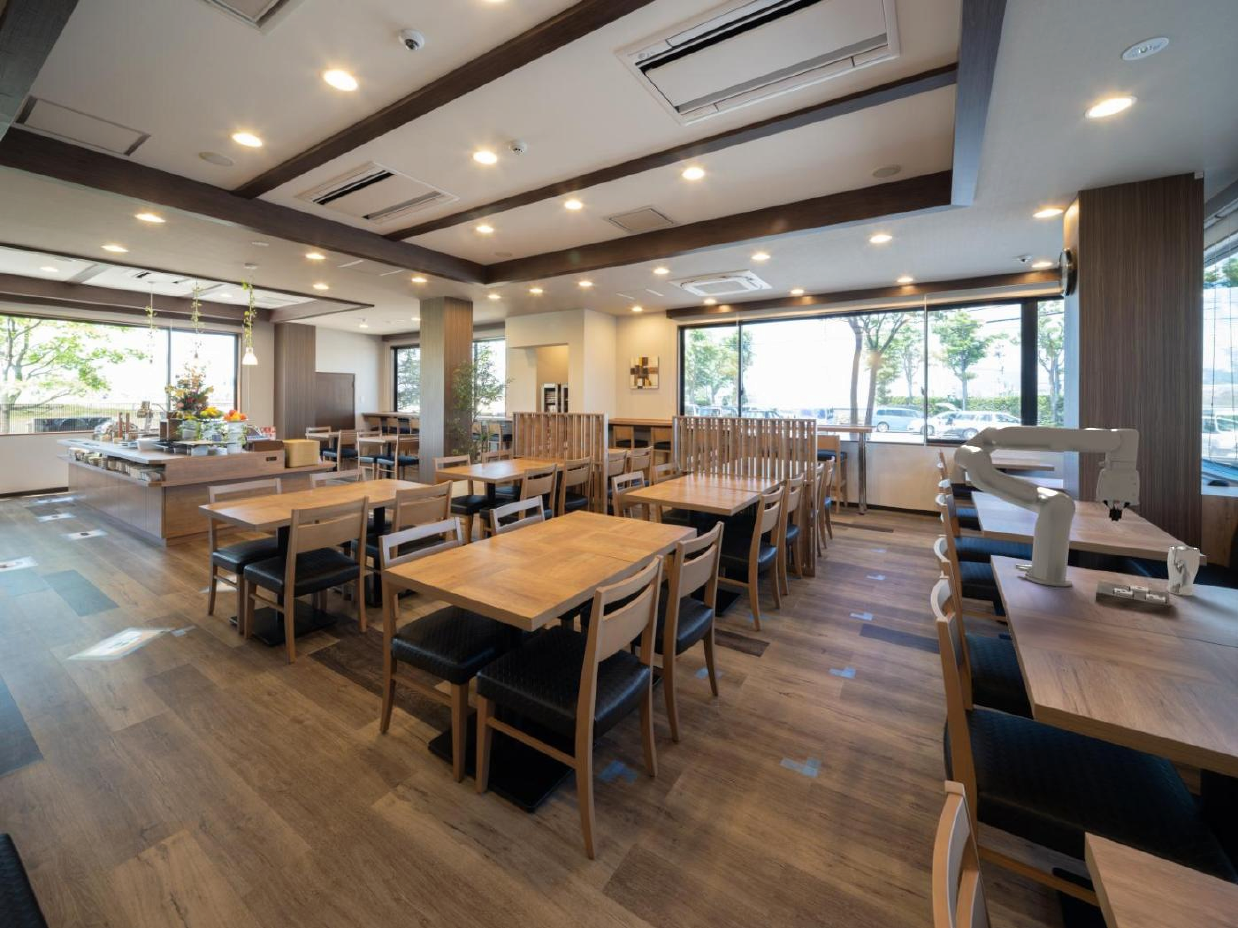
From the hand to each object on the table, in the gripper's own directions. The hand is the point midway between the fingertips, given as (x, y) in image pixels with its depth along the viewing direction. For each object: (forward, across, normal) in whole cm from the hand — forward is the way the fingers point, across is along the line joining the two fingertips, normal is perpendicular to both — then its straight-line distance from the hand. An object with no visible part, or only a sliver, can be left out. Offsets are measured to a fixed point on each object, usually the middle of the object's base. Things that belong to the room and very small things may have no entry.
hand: (1114, 520), depth 176 cm
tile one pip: (+22, +8, -11) cm, 26 cm away
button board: (+22, +7, -15) cm, 28 cm away
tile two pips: (+22, +12, -18) cm, 31 cm away
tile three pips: (+22, +5, -18) cm, 29 cm away
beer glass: (+23, +16, +6) cm, 29 cm away
